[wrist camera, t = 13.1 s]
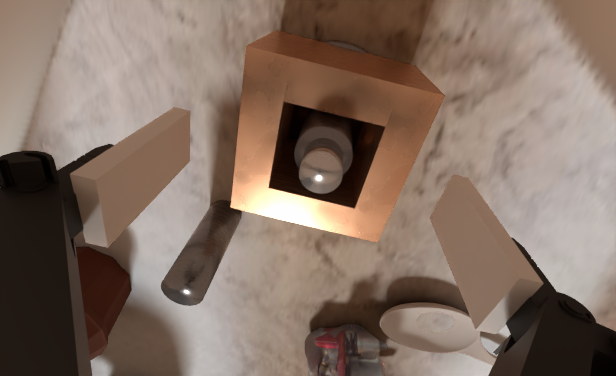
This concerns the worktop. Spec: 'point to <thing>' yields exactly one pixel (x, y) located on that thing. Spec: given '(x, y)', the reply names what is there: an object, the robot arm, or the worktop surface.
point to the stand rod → (201, 255)
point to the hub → (324, 142)
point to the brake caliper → (344, 352)
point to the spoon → (458, 338)
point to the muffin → (101, 295)
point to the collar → (337, 100)
